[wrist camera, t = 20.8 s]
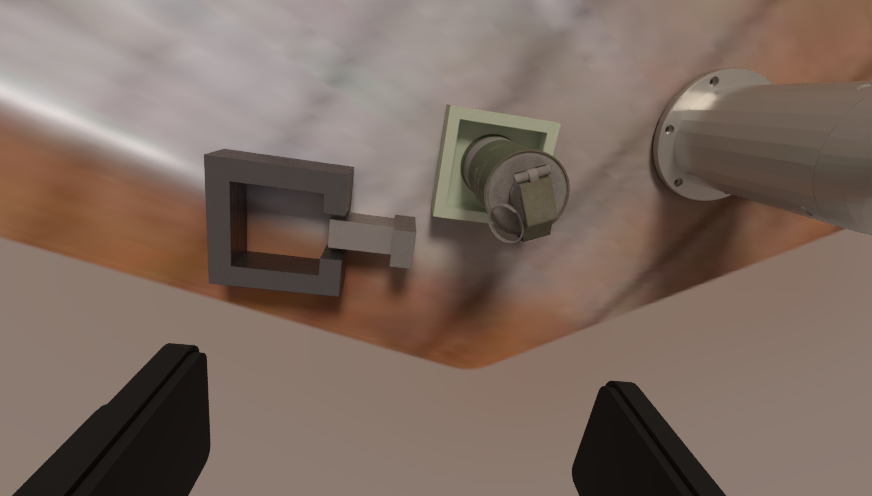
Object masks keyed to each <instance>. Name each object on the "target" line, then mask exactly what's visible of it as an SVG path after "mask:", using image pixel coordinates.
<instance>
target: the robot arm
mask: <svg viewBox="0 0 872 496" xmlns="http://www.w3.org/2000/svg"><path fill="white" fill-rule="evenodd" d="M665 129H666V130H665ZM653 157H654V163H655V167H656V170H657V172H658V174H659V177H660V178H661V180H662V181H663V182H664V184H665V185H666V186H667V187H668V188H669V189H671V190H672V191H673V192H675V193H677V194H679V195H681V196H683V197H686V198H689V199H692V200H698V201H713V200H718V199H722V198H726V197H728V196H730V195H735V196H738V197H742V198H745V199H748V200H752V201H755V202H759V203H762V204H765V205H769V206H772V207H775V208H779V209H782V210H786V211H789V212H792V213H796V214H799V215H803V216H806V217H809V218H813V219H816V220H819V221H823V222H826V223H830V224H833V225H836V226H840V227H843V228H846V229H849V230H853V231H857V232H860V233H864V234H869V235H872V81H858V82H831V83H803V84H775V85H773V84H772V83H771V82H770V81H769V80H768V79H767V78H766V77H764V76H763V75H761V74H759V73H758V72H755V71H752V70H749V69H741V68H729V69H721V70H717V71H713V72H709V73H707V74H705V75H702V76H700V77H698V78H696V79H695V80H693V81H692V82H690V83H689V84H688V85H686V86H685V87H684V88H683V89H682V90H681V91H680V92H679V93H678V94H676V95H675V97H674V98H673V99H672V101H671V102H670V103H669V104H668V106H667V107H666V109H665V111H664V113H663V114H662V116H661V118H660V121H659V123H658V126H657V129H656V132H655V137H654V142H653ZM208 401H209V400H208V377H207V357H206V354H205V353H199V349H198V347H197V346H195V345H184V344H172V343H169V344H166V345H165V346H163V347H162V348H161V349H160V350H159V351H158V353H156V355H155V356H154V357H153V358H152V359H151V360H150V361H149V362H148V363H147V364H146V365H145V366H144V367H143V368H142V369H141V370H140V371H139V372H138V373H137V374H136V375H135V376H134V377H133V378H132V379H131V380H130V381H129V382H128V383H127V384H126V385H125V386H124V387H123V389H122V390H121V391H120V392H119V393H118V394H117V395H116V396H115V397H114V398H113V399H112V400H111V401H110V402H109V403H108V404H106V405H103V406H101V407H100V408H99V409H98V410H97V411H95V413H93V415H91V416H90V418H88V419H87V420H86V421H85V422H84V423H83V424H82V425H81V426H80V427H79V428H78V429H77V431H76V432H75V433H74V434H73V435H72V436H71V437H70V438H69V439H68V440H67V441H66V442H65V443H64V444H63V445H62V446H61V447H60V448H59V449H58V450H57V451H56V452H55V453H54V454H53V455H52V456H51V457H50V458H49V459H48V460H47V461H46V462H45V463H44V464H43V465H42V466H41V467H40V468H39V469H38V470H37V471H36V472H35V473H34V474H33V475H32V476H31V477H30V478H29V479H28V480H27V481H26V482H25V483H24V484H23V485H22V486H21V487H20V488H19V489H18V490H17V491H16V492H15V493H14V494H13V495H12V496H188V495H189V493H190V491H191V490H192V488H193V486H194V484H195V482H196V480H197V479H198V477H199V475H200V473H201V471H202V469H203V468H204V465H205V464H206V462H207V459H208V456H209V452H210V424H209V402H208ZM572 477H573V482H574V484H575V487H576V489H577V491H578V493H579V496H726V495H725V494H724V492H723V491H722V490H721V489H720V488H719V486H718V485H717V484H716V483H715V481H714V480H713V479H712V478H711V476H710V475H709V474H708V473H707V471H706V470H705V469H704V468H703V466H702V465H701V464H700V463H699V462H698V460H697V459H696V458H695V457H694V455H693V454H692V453H691V452H690V450H689V449H688V448H687V447H686V446H685V444H684V443H683V442H682V440H681V439H680V438H679V437H678V436H677V434H676V433H675V432H674V431H673V430H672V428H671V427H670V426H669V424H668V423H667V422H666V421H665V419H664V418H663V417H662V416H661V415H660V413H659V412H658V411H657V409H656V408H655V407H654V406H653V405H652V403H651V402H650V401H649V400H648V399H647V397H646V396H645V395H644V393H643V392H642V391H641V390H640V388H639V387H638V386H637V385H636V384H634V383H632V382H621V381H609V382H608V383H607V384H606V385H605V386H602V387H601V388H600V390H599V392H598V395H597V398H596V400H595V404H594V406H593V409H592V412H591V415H590V418H589V420H588V424H587V426H586V429H585V432H584V435H583V438H582V441H581V444H580V446H579V449H578V452H577V455H576V458H575V460H574V463H573V467H572Z"/></svg>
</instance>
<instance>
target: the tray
mask: <svg viewBox="0 0 872 496" xmlns="http://www.w3.org/2000/svg"><path fill="white" fill-rule="evenodd" d="M560 125H561V123H557V122H551V121H545V120H539V119H532V118H526V117H520V116H514V115H508V114H502V113H496V112H490V111H483V110H477V109H471V108H465V107H459V106H453V105H447V107H446V114H445V120H444V127H443V133H442V140H441V146H440V153H439V159H438V166H437V172H436V179H435V186H434V192H433V199H432V205H431V210H432V214H433V216H434V217H441V218H449V219H457V220H465V221H472V222H480V223H488V215H487V213H486V210H485V207H484V206H483V205H482V203H481V202H480V200H479V199H478V198H477V196H476V195H475V194H474V192H473V191H471V190H470V189H469V188H468V187H467V185H466V184H465V182H464V180H463V178H462V175H461V160H462V156H463V154H464V152H465V150H466V148H467V147H468V146H469V145H470V144H471V143H472V142H473V141H474V140H476V139H477V138H479V137H481V136H484V135H488V134H498V135H502V136H505V137H507V138H509V139H510V140H512V141H513V142H515V143H518V144H520V145H523V146H525V147H528V148H530V149H536V150H541V151H544V152H546V153H548V154H550V155H552V156H553V153H554V149H555V145H556V141H557V137H558V133H559V129H560ZM492 224H494V223H493V222H492Z"/></svg>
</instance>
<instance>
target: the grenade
mask: <svg viewBox="0 0 872 496" xmlns="http://www.w3.org/2000/svg"><path fill="white" fill-rule="evenodd" d="M461 175H462V178H463V180H464V182H465V184H466V185H467V187H468V188H469V189H470V190H471V191H473V192H474V194H475V195H476V196H477V198H478V199H479V200H480V202H481V203H482V205H483V206H484V207H485V210H486V213H487V215H488V225H489V228H490V230H491V232H492V233H493V235H494V236H495V237H496V238H497V239H499V240H500V241H502V242H504V243H507V244H514V243H517V242H519V241H520V240H521V241H522V242H525V241H529V240H532V239H536V238H539V237H543V236H546V235H550V231H551V226H552V224H553V223H554V222H555V221H556V220H557V219H558V218H559V217H560V215H561V214H562V212H563V211H564V209H565V207H566V204H567V201H568V198H569V180H568V176H567V173H566V171H565V169H564V167H563V166H562V164H561V163H560V162H559V161H558V160H557V159H556V158H555V157H553V156H552V155H550V154H548V153H546V152H544V151H541V150H536V149H530V148H528V147H525V146H523V145H520V144H518V143H515V142H513V141H512V140H510V139H509V138H507V137H505V136H502V135H498V134H488V135H484V136H481V137H479V138H477V139H476V140H474V141H473V142H472V143H471V144H470V145H469V146H468V147H467V148H466V150H465V152H464V154H463V156H462V160H461ZM492 222H493V223H494V224H495V225H496V226H497V227H498V228H500V229H501V230H503V231H505V232H507V233H510V234H514V235H517V236H518V237H519V239H517V240H516V241H512V240H507V239H505V238H503V237H501V236H500V235H499V234H498V233H497V232H496V230H495V229H494V227H493V224H492Z"/></svg>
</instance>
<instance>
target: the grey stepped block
mask: <svg viewBox="0 0 872 496" xmlns="http://www.w3.org/2000/svg"><path fill="white" fill-rule="evenodd" d="M415 237H416V224H415V217H409V216H401V215H395V218H387V217H379V216H371V215H363V214H355V213H348V212H347V214H346V216H341V215H332V217H331V218H330V224H329V239H328V247H330V248H338V249H347V250H355V251H364V252H373V253H381V254H390V255H391V256H390V266H391V267H400V268H408V269H411V265H412V258H413V251H414V244H415Z"/></svg>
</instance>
